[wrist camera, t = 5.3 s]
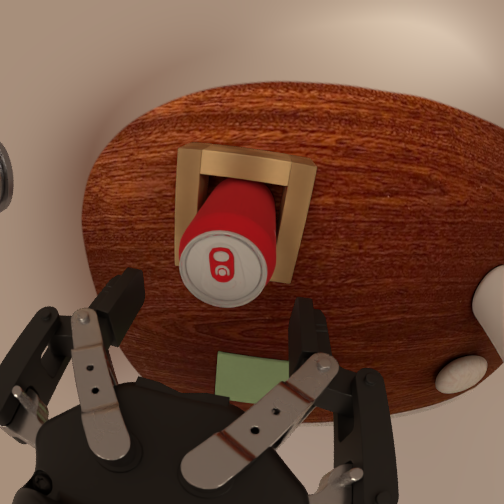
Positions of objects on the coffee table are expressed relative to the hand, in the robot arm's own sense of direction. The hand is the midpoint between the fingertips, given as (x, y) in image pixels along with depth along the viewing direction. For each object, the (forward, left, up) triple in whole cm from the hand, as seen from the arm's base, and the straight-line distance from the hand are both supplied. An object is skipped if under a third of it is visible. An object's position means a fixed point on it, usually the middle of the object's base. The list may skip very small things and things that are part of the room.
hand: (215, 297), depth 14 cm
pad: (+7, -28, -14) cm, 32 cm away
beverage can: (0, 0, -15) cm, 15 cm away
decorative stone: (+43, -22, -15) cm, 50 cm away
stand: (0, 0, -14) cm, 14 cm away
